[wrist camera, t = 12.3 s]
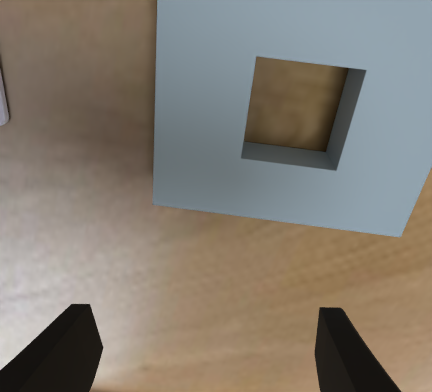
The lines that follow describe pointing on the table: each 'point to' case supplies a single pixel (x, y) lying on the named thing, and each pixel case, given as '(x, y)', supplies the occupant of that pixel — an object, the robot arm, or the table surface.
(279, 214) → the light blue flat block
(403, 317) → the table surface
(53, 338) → the robot arm
